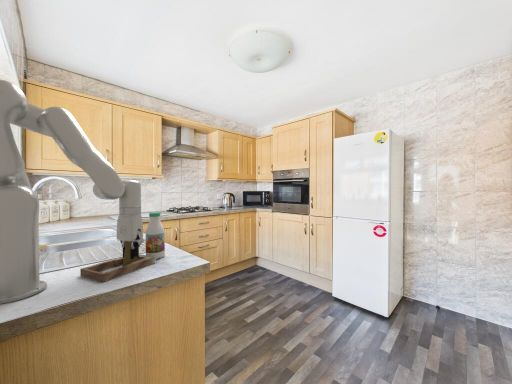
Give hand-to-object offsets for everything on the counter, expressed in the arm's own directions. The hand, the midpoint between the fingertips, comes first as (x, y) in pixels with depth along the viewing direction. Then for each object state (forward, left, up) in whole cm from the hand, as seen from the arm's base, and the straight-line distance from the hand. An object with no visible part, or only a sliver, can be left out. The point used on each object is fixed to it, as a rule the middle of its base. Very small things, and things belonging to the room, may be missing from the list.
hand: (130, 257), depth 85 cm
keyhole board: (-4, 0, -3) cm, 5 cm away
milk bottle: (+12, 0, -4) cm, 12 cm away
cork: (0, 0, -3) cm, 3 cm away
